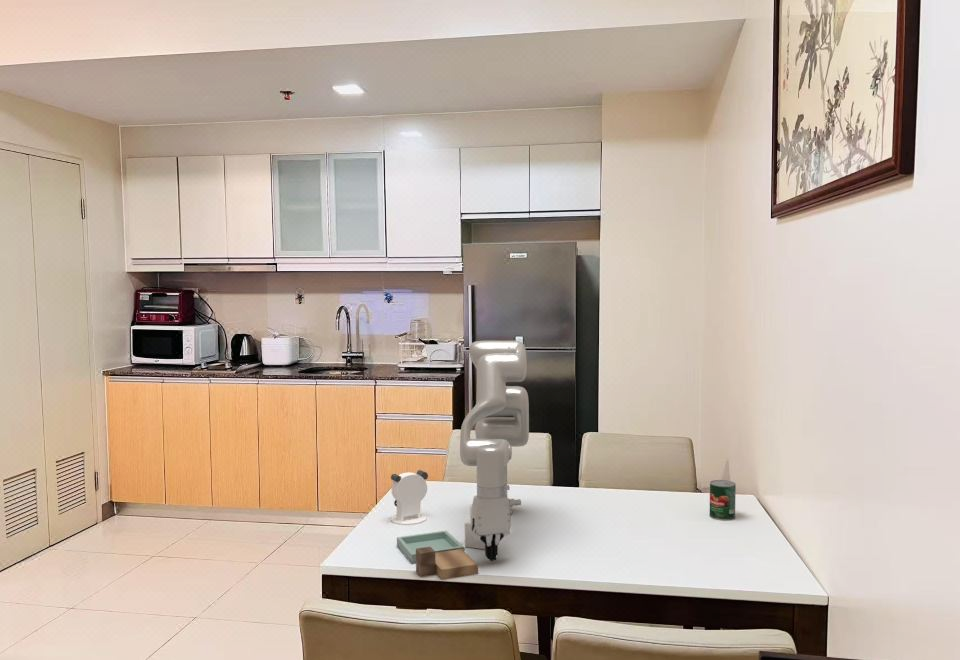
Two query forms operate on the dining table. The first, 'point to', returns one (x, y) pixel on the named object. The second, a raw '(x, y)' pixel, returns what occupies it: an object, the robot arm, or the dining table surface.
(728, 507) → the canned tomato
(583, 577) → the dining table surface
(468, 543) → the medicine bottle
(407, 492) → the panda figurine
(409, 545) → the tray
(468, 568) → the tan wooden block
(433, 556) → the dark brown wooden block
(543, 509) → the dining table surface
